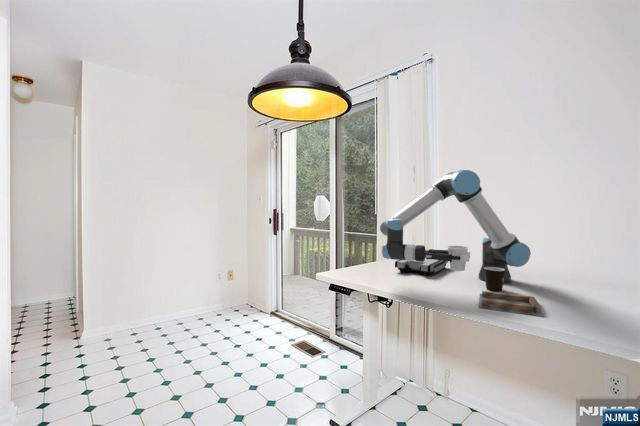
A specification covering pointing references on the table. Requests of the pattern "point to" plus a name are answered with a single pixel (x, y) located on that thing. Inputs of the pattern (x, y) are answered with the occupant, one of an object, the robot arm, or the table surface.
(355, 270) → the table surface
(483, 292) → the tray with wooden rails
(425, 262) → the game console
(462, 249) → the dixie cup
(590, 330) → the table surface
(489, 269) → the coffee mug
